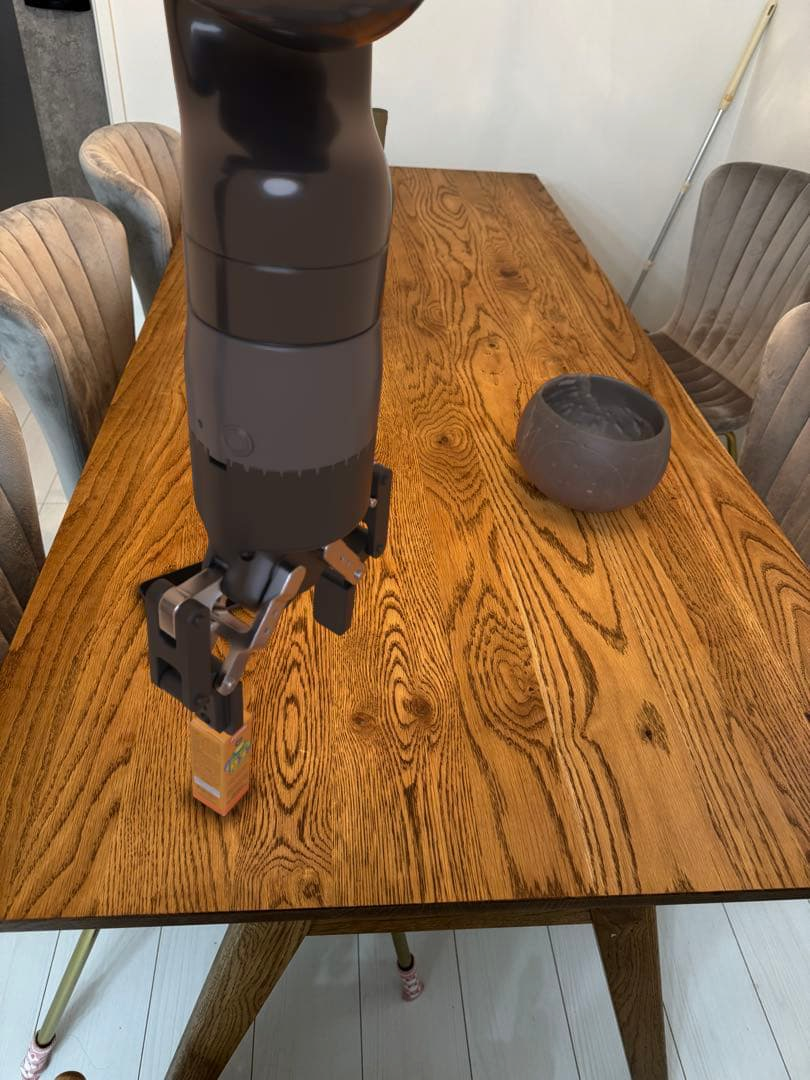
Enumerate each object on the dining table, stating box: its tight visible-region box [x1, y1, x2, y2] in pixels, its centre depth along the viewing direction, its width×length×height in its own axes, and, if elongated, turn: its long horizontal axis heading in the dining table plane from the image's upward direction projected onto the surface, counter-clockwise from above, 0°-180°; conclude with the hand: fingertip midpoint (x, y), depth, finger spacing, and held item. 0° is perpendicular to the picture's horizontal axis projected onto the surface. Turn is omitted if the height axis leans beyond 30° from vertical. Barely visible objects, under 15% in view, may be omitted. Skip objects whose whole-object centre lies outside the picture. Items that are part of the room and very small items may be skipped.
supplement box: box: [189, 708, 253, 817], centre depth 61 cm, size 3×3×10 cm
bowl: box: [515, 372, 672, 513], centre depth 97 cm, size 18×18×13 cm
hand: (280, 671), depth 43 cm, fingers open, 8 cm apart
